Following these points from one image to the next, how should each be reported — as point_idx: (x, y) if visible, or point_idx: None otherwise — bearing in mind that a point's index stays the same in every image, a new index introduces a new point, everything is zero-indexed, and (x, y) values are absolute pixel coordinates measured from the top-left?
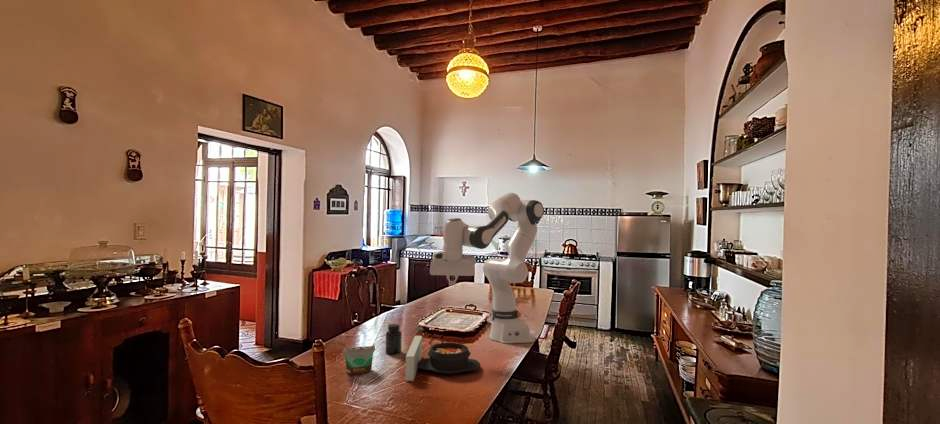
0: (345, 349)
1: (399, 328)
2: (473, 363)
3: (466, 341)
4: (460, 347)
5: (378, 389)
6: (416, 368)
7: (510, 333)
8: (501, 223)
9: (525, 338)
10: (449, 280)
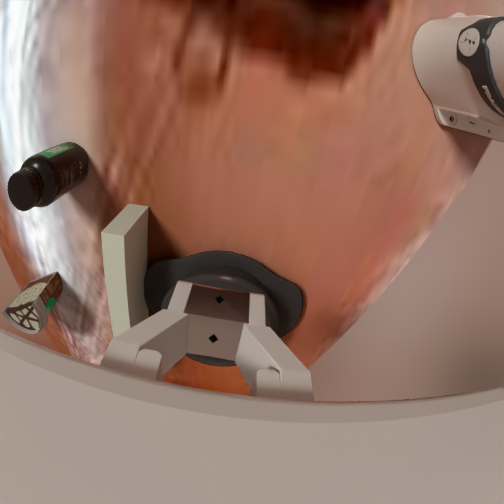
0: (7, 316)
1: (41, 189)
2: (284, 312)
3: (322, 60)
4: None
5: (103, 350)
6: (145, 309)
7: (475, 119)
8: None
9: (498, 126)
10: (171, 363)
